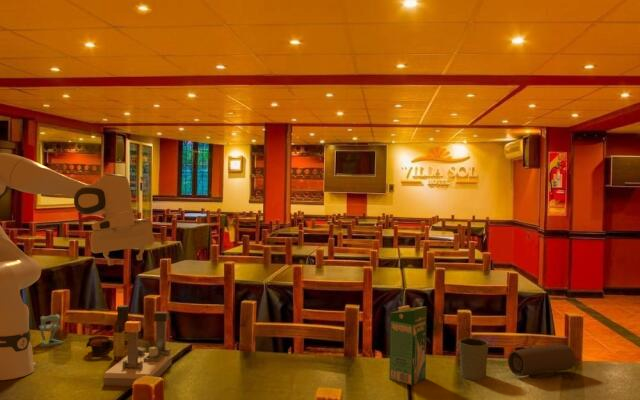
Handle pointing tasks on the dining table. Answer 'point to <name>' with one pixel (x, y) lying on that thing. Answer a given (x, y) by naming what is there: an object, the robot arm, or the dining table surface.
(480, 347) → the grey cup
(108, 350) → the pottery mug
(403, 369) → the milk carton
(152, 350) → the push button
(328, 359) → the dining table surface
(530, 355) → the bluetooth speaker
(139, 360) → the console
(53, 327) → the chair
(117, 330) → the sauce bottle
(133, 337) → the lever orange
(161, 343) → the lever black
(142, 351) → the block
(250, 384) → the dining table surface
